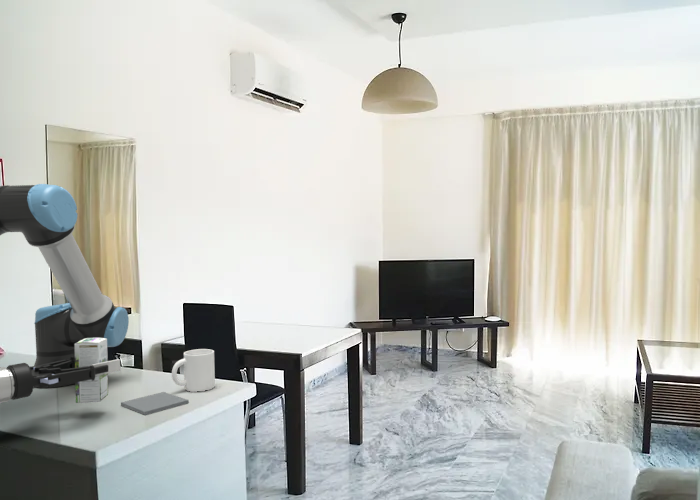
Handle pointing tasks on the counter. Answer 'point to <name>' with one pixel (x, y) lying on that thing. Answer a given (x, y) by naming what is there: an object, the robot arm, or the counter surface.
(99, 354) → the syrup box
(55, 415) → the counter surface
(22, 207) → the robot arm
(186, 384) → the mug
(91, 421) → the counter surface
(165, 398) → the coaster
